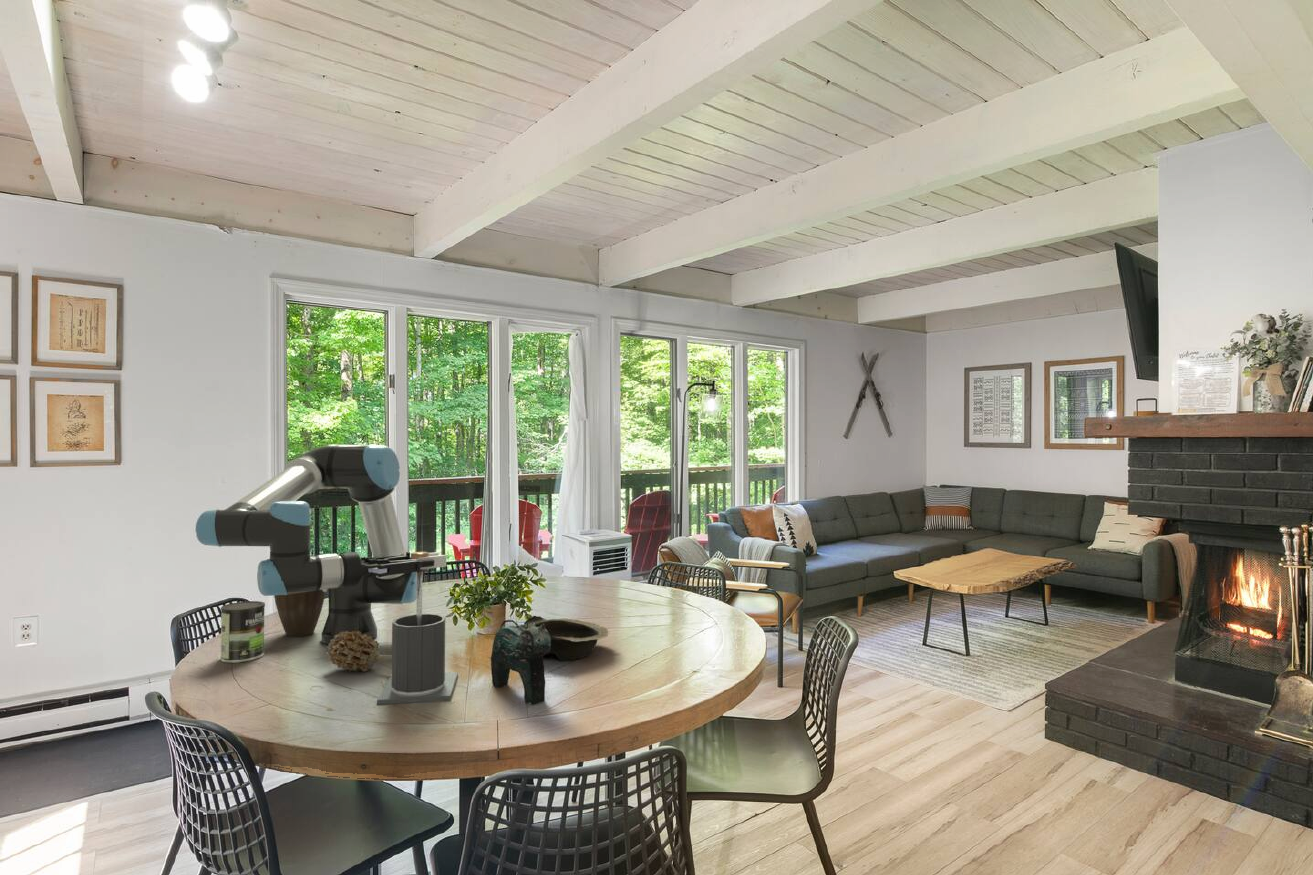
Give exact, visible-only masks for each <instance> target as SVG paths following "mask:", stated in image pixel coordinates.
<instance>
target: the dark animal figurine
mask: <svg viewBox="0 0 1313 875" xmlns="http://www.w3.org/2000/svg"><path fill="white" fill-rule="evenodd" d="M523 613H524V614H525V615H526V620H527V628H526V629H525V628H524V627H521V626H519V624H518V623H517V622H516V621H515V620H512V619H506V620H504V621H503V622H502V623H501V624H500V627H499V629H498V630H497V631H496V633H495V636H494V638H493V642H492V649H491V655H490V666H491V667H490V670H491V671H490V672H491V681H492V682H491V683H492V685H493V686H494V687H496V688H498V689H500V688H503V687H507V686H508V683H509V680H510V673H511V671H513V672H516V673H518V675H519V676H520V680H521V682H522V684H523V691H524V692H523V693H524V696H523V698H524V699H523V700H524V702H525V703H529V704H530V705H532V706H533V705H537V704H540V703H543V702H545V698H546V695H545V694H546V678H545V676H546V675H545V673H546V672H545V664H544V656H543V655H544V654H546V653H548V652H549V651H550V649H551V638H550V635H549V633H548V631H547V630H546V629H545V624H542V625H541V626H540V627H536V626H535V622H534V623H533V624H532V626H531V628H528V618H529V614H528V613H527V611H526V610H521V611H520V613H519V616H521V615H522V614H523ZM506 623H513V624H514V625H508V626H504V625H505V624H506ZM503 626H504V627H503Z"/></svg>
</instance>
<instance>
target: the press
mask: <svg viewBox="0 0 1313 875" xmlns="http://www.w3.org/2000/svg"><path fill="white" fill-rule="evenodd" d="M416 625H417V613H415V614H408V615H403V616H399V617H398V618H394V619H393V621H392V622H391V628H392V630H391V632H392V633H391V655H392V660H391V675H390V677H389V678H388V680H387V682H386V683H385V685H384V687H383V689H382V691H381V692H380V694H379V696H378V697H377V700H376V705H386V704H387V705H388V704H405V703H406V704H407V703H422V702H436V701H437V702H440V701H451V700H452V696H453V692H454V689H455V687H456V684H457V679H458V673H459V672H457V671H455V672H454V671H453V672H451V671H450V672H445V671H446V616H444V615H442V614H437V613H436V614H435V613H422V626H416Z"/></svg>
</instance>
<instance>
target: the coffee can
mask: <svg viewBox="0 0 1313 875" xmlns="http://www.w3.org/2000/svg"><path fill="white" fill-rule="evenodd" d="M265 607H266V602H263V601H258V600H251V601H250V600H249V601H246V600H245V601H238V602H237V601H236V602H233V603H228V604H225V605H223V606H221V607H220V612H221V614H220V615H221V616H220V618H221V621H220V622H221V623H220V624H221V625H220V626H221V628H220V629H221V630H220V634H221V636H220V661H221V662H222V663H228V664H229V663H230V664H231V663H232V664H235V663H245V662H251V661H254V660H258V659H259V658H262V657H263V656H264V655H265Z"/></svg>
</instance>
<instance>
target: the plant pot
mask: <svg viewBox="0 0 1313 875" xmlns="http://www.w3.org/2000/svg"><path fill="white" fill-rule="evenodd" d="M326 593H327V592H323V590H317V591H308V592H301V593H294V594H288V595H273V596H274V601H275V606H276V610H277V613H278V617H279V620H280V623H281V625H282V628H283V630H284V632H285V635H286V636H287V637H290V638H297V637H298V638H301V637H306V636H309V635H312V634H313V633H315V631H316V626H317V625H318V622H319V619H320V615H321V613H322V609H323V606H324V601H325V597H326Z"/></svg>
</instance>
